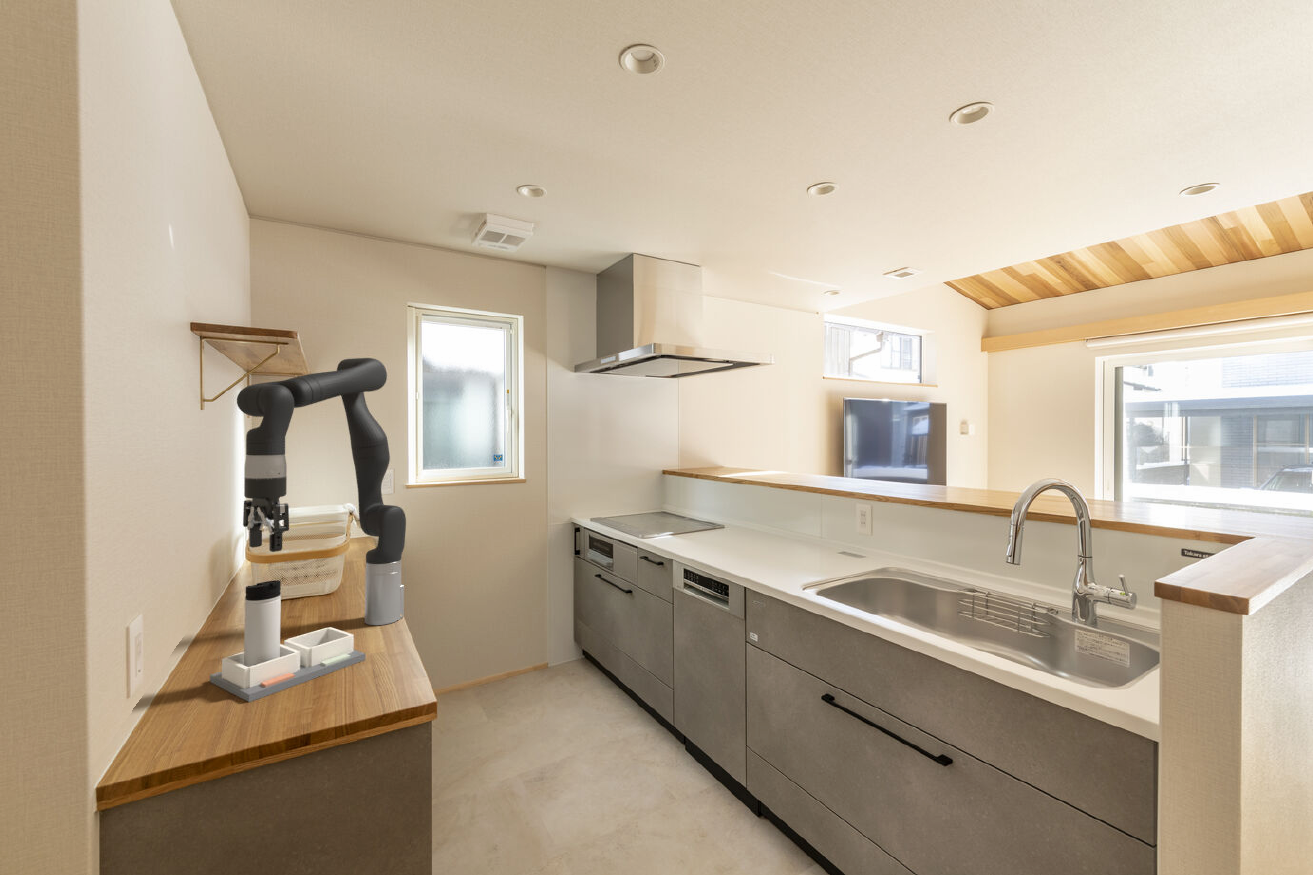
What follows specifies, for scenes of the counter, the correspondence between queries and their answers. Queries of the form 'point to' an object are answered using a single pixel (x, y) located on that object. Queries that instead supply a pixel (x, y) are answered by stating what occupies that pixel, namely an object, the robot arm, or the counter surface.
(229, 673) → the holder board
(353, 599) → the counter surface
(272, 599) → the travel mug
